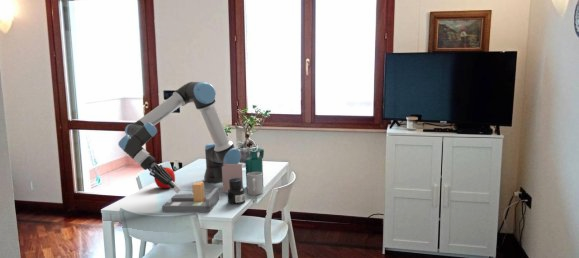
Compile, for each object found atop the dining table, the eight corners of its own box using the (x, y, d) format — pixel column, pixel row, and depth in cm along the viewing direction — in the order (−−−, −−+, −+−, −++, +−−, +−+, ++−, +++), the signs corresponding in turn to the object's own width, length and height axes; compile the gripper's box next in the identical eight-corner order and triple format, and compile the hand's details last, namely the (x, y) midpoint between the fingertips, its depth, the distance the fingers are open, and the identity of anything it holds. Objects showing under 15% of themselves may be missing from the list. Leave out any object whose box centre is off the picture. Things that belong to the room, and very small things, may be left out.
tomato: (167, 184, 279) (165, 164, 277) (180, 186, 273) (178, 166, 271) (150, 189, 269) (148, 168, 267) (163, 192, 263) (161, 170, 261)
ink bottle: (239, 205, 233) (238, 182, 232) (224, 204, 237) (223, 181, 235) (248, 200, 242) (247, 178, 241) (233, 198, 246) (232, 177, 244)
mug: (248, 190, 260) (247, 171, 258) (263, 190, 260) (262, 171, 258) (246, 197, 248) (245, 177, 247) (261, 196, 248) (260, 176, 246)
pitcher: (251, 189, 262) (249, 151, 258) (245, 186, 269) (243, 149, 266) (266, 187, 266) (265, 149, 263) (260, 183, 274) (259, 147, 270)
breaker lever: (193, 204, 233) (192, 184, 231) (197, 200, 239) (196, 181, 237) (201, 203, 232) (200, 184, 231) (204, 200, 238) (203, 181, 237)
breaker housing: (162, 212, 227) (161, 199, 226) (175, 199, 247) (174, 188, 246) (209, 212, 225) (209, 199, 224) (219, 199, 245) (218, 187, 244)
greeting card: (243, 189, 263) (242, 163, 260) (238, 193, 256) (237, 166, 253) (225, 188, 266) (223, 163, 264) (219, 192, 259) (218, 166, 257)
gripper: (145, 162, 241) (178, 192, 242) (135, 168, 228) (170, 200, 230) (154, 152, 240) (187, 182, 241) (144, 157, 227) (179, 189, 228)
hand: (179, 191), depth 235 cm, fingers closed
